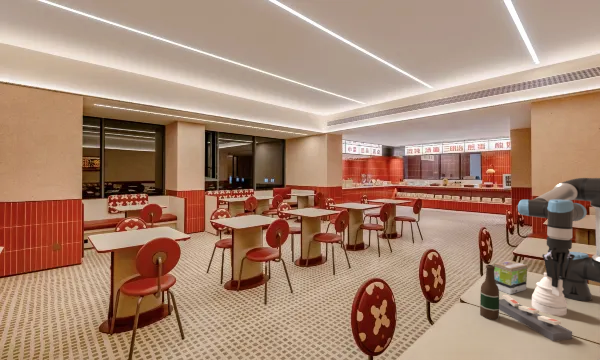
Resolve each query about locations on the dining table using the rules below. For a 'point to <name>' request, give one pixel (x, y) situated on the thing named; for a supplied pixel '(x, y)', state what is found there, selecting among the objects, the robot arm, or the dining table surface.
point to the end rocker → (549, 320)
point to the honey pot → (548, 298)
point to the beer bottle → (489, 295)
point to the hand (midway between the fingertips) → (556, 294)
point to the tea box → (510, 276)
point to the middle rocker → (528, 309)
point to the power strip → (535, 322)
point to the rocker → (511, 300)
